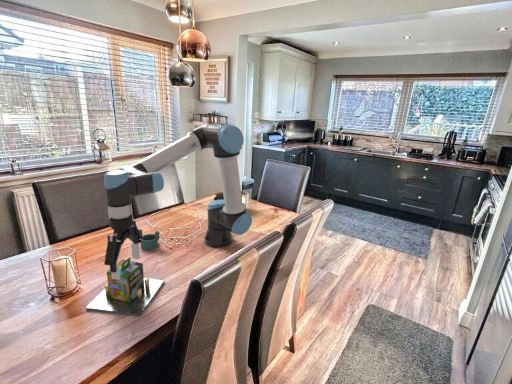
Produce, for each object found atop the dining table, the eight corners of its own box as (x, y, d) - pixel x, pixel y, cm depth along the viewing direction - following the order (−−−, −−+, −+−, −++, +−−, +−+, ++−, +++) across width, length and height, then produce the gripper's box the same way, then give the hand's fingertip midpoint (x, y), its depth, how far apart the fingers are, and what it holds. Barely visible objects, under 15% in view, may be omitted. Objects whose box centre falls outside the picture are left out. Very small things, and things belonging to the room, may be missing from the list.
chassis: (164, 282, 115) (163, 270, 114) (140, 316, 96) (139, 303, 95) (118, 277, 117) (117, 265, 116) (86, 309, 98) (84, 296, 97)
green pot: (160, 248, 142) (159, 232, 140) (141, 251, 138) (140, 235, 135) (156, 241, 150) (156, 225, 147) (138, 244, 145) (137, 228, 143)
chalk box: (125, 284, 111) (121, 251, 107) (145, 288, 110) (143, 255, 105) (108, 298, 103) (104, 263, 98) (130, 303, 101) (127, 267, 97)
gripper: (129, 202, 109) (134, 250, 116) (86, 229, 86) (95, 287, 92) (148, 203, 109) (152, 251, 115) (109, 231, 85) (117, 290, 91)
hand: (126, 267), depth 104 cm, fingers open, 13 cm apart
